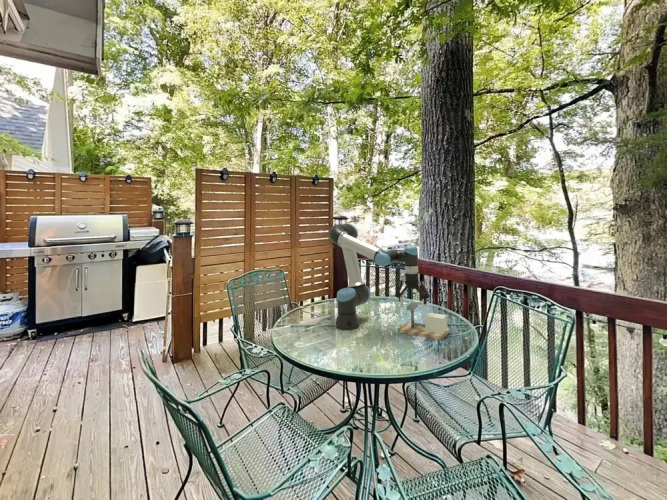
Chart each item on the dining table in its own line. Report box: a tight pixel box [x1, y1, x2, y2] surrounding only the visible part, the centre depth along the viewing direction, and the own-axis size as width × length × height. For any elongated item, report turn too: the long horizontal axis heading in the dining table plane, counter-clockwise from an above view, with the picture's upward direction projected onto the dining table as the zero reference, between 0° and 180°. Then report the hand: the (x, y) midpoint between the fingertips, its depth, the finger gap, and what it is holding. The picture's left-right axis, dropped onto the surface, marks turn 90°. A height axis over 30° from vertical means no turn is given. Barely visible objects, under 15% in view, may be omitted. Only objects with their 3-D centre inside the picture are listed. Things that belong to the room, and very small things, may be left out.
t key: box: [406, 302, 425, 327], centre depth 198 cm, size 10×8×13 cm
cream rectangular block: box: [421, 312, 448, 334], centre depth 192 cm, size 13×7×9 cm, turn 55°
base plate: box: [397, 321, 451, 341], centre depth 197 cm, size 26×14×2 cm, turn 55°
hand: (412, 308), depth 199 cm, fingers open, 13 cm apart
